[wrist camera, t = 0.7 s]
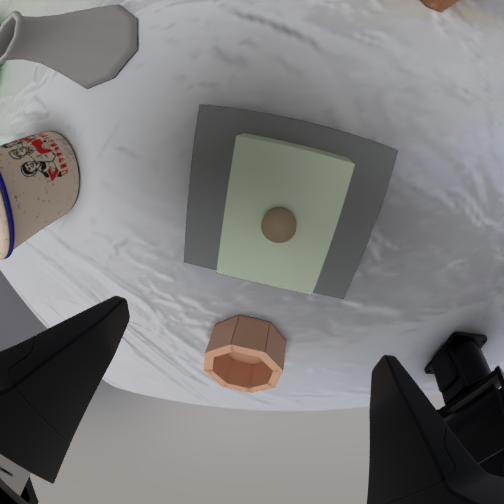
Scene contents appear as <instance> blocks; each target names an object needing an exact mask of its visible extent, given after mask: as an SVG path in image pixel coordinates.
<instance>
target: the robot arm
mask: <svg viewBox="0 0 504 504" xmlns="http://www.w3.org/2000/svg"><path fill="white" fill-rule="evenodd" d="M129 318H130V315H129V310H128V304H127V300H126V299H125V298H122V297H119V296H114V297H112V298H110V299H107V300H105V301H103V302H101V303H99V304H97V305H95V306H93V307H91V308H89V309H87V310H85V311H83V312H81V313H79V314H77V315H75V316H73V317H71V318H69V319H67V320H65V321H63V322H61V323H59V324H57V325H55V326H53V327H51V328H49V329H47V330H45V331H43V332H41V333H39V334H37V336H33V337H31V338H29V339H27V340H25V341H23V342H21V343H19V344H17V345H15V346H12V347H10V348H8V349H5V350H3V351H0V504H38V499H37V497H36V494H35V492H34V488H33V486H32V483H31V480H30V474H31V473H33V474H35V475H36V476H39V477H40V478H42V479H44V480H46V481H48V482H50V483H54V481H55V479H56V477H57V474H58V472H59V469H60V467H61V464H62V462H63V459H64V457H65V455H66V452H67V450H68V448H69V445H70V443H71V441H72V438H73V436H74V434H75V432H76V430H77V427H78V425H79V423H80V421H81V419H82V417H83V415H84V413H85V411H86V409H87V407H88V404H89V403H90V400H91V399H92V397H93V395H94V393H95V391H96V389H97V387H98V385H99V383H100V381H101V379H102V377H103V376H104V374H105V372H106V370H107V368H108V366H109V364H110V363H111V361H112V359H113V357H114V355H115V353H116V350H117V348H118V345H119V343H120V341H121V338H122V336H123V334H124V331H125V329H126V327H127V324H128V322H129ZM486 341H487V337H486V336H483V335H475V334H467V333H459V332H456V333H454V334H453V335H452V336H451V337H450V338H449V340H448V341H447V342H446V344H445V345H444V346H443V348H442V349H441V350H440V351H439V353H438V354H437V355H436V356H435V358H434V359H433V360H432V361H431V362H430V364H429V365H428V366H427V367H426V368H425V373H426V374H435V378H436V381H437V384H438V387H439V391H440V392H442V395H443V399H444V402H445V406H444V407H442V408H441V409H439V410H436V409H435V408H434V406H433V405H432V404H431V403H430V401H429V400H428V398H427V397H426V396H425V394H424V393H423V392H422V390H421V389H420V388H419V386H418V385H417V384H416V383H415V381H414V380H413V379H412V377H411V376H410V375H409V374H408V372H407V371H406V370H405V368H404V367H403V366H402V365H401V363H400V362H399V361H398V360H397V358H396V357H395V356H390V355H384V356H383V357H382V358H381V359H380V361H379V362H378V363H377V365H376V366H375V367H374V369H373V371H372V379H371V397H370V465H369V484H368V498H367V504H504V372H503V371H502V369H501V368H500V367H499V365H498V366H497V367H496V368H495V370H494V371H492V372H491V371H490V368H489V366H488V364H487V362H486V359H485V357H484V355H483V353H482V351H481V348H482V346H483V345H484V344H485V342H486ZM500 386H501V387H502V388H500V389H498V388H499V387H500Z"/></svg>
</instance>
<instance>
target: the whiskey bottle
mask: <svg viewBox="0 0 504 504" xmlns="http://www.w3.org/2000/svg"><path fill="white" fill-rule="evenodd" d="M421 1H422V2H423V3H424V4H425V5H426V6H427V7H430V8H433V9H435V10H438V11H441V12H442V11H444V10H445V9H447V8H448V7H450V6H451V5H453V4H455V3H456V2H458V1H459V0H421Z"/></svg>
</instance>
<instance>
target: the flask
mask: <svg viewBox="0 0 504 504" xmlns="http://www.w3.org/2000/svg"><path fill="white" fill-rule="evenodd" d="M136 50H137V18H135V17H134V16H133V15H132V14H130V13H129V12H128V11H126V10H125V9H124V8H123V7H121V6H120V5H110V6H104V7H98V8H92V9H87V10H81V11H75V12H70V13H65V14H61V15H53V16H42V17H26V16H22V15H21V14H20V12H18V11H13V12H12V13H11V14H10V15H9V16H8V17H7V18H6V19H5V20H4V21H3V23H2V25H1V26H0V65H2V64H3V63H4V62H5V61H6V60H13V59H24V60H29V61H33V62H38V63H41V64H43V65H45V66H47V67H49V68H51V69H53V70H55V71H57V72H59V73H61V74H63V75H65V76H66V77H68V78H69V79H71V80H73V81H74V82H76V83H78V84H79V85H81V86H83V87H84V88H86V89H88V88H90V87H93V86H95V85H97V84H100V83H102V82H105V81H107V80H110V79H113V78H114V77H115V76H116V74H117V73H118V72H119V71H120V69H121V68H122V67H123V66H124V64H125V63H126V62H127V61H128V60H129V58H130V57H131V56H132V55H133V54H134V53H135V51H136Z"/></svg>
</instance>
